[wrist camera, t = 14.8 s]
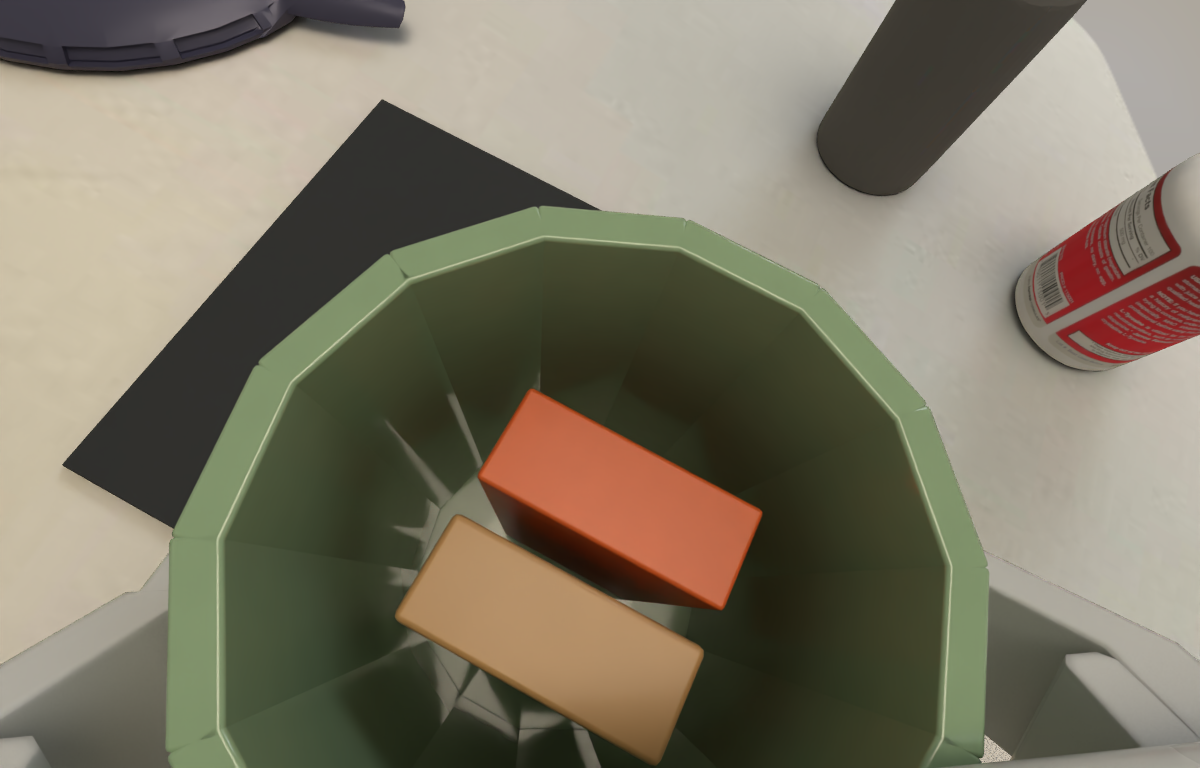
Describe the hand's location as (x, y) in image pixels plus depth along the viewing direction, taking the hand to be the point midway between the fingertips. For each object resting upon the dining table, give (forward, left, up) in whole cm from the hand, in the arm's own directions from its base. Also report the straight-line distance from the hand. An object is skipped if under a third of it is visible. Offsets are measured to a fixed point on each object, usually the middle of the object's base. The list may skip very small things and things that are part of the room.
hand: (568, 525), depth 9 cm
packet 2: (-1, 0, -4) cm, 5 cm away
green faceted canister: (0, 0, -5) cm, 5 cm away
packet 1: (0, 0, -4) cm, 4 cm away
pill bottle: (+22, -17, -15) cm, 32 cm away
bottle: (+26, -5, -15) cm, 30 cm away
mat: (+5, +10, -15) cm, 19 cm away
